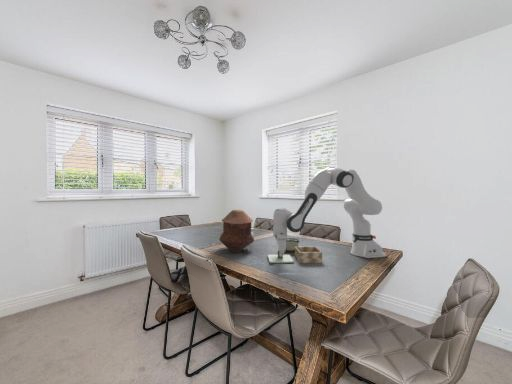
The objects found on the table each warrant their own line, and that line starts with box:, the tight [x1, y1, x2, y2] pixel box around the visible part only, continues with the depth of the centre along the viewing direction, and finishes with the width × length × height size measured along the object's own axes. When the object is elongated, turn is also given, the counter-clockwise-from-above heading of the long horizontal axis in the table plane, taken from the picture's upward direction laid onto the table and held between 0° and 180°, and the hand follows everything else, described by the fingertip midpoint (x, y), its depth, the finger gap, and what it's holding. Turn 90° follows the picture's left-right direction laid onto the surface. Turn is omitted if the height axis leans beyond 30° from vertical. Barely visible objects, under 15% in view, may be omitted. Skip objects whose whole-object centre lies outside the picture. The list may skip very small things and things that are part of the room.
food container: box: [283, 237, 301, 254], centre depth 167 cm, size 12×6×10 cm, turn 84°
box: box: [294, 246, 323, 264], centre depth 150 cm, size 14×14×7 cm
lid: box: [267, 250, 295, 264], centre depth 149 cm, size 15×15×5 cm
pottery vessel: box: [218, 209, 255, 253], centre depth 173 cm, size 26×26×30 cm
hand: (280, 255), depth 149 cm, fingers open, 3 cm apart
